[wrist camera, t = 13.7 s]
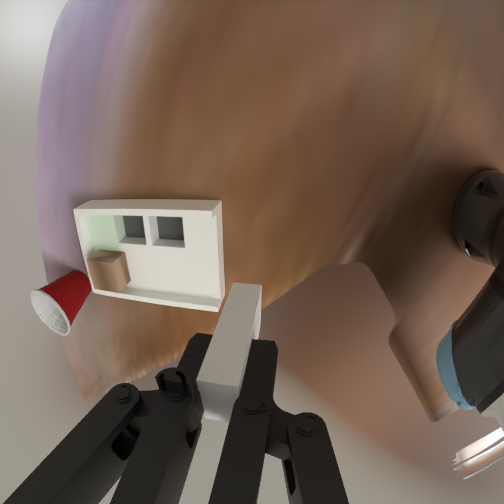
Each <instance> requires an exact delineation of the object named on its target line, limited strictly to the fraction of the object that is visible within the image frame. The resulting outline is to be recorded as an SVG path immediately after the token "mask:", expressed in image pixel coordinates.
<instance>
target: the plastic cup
mask: <svg viewBox="0 0 504 504" xmlns="http://www.w3.org/2000/svg"><path fill="white" fill-rule="evenodd" d="M90 290H91V284H90V281H89V279H88V278H87V276H86V275H85V274H84V273H82V272H80V271H73V272H71V273H69V274H67V275H65V276H63V277H61V278H59V279H57V280H56V281H54V282H52V283H50V284H49V285H47V286H44V287H43V288H41V289H38V290H34V291H32V292H31V297H30V299H31V302H32V306H33V307H34V309H35V311H36V313H37V315H38V316H39V317H40V318H41V320H42V321H43V322H44V323H45V324H46V325H47V326H48V327H49V328H50V329H51V330H53V331H54V332H56V333H58V334H60V335H64V336H65V335H69V332H70V329H71V324H72V322H73V320H74V318H75V316H76V315H77V313H78V311H79V310H80V308H81V307H82V305H83V303H84V301H85V299H86V298H87V296H88V295H89V293H90Z"/></svg>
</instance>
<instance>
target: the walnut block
mask: <svg viewBox="0 0 504 504" xmlns="http://www.w3.org/2000/svg"><path fill="white" fill-rule="evenodd" d="M87 264H88V268H89V271H90V275H91V279H92V282H93V286H94V289H98V290H104V291H109V292H115V293H120V292H121V291H122V290H123V289H124V288H125V287H126V286H127V285H128V283H129V282H130V281H131V278H130V274H129V269H128V264H127V259H126V254H125V252H122V251H111V250H98V251H97V252H96V253H95V254H93V255H92V256H91V257H90V258H88V259H87Z"/></svg>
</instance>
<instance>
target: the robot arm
mask: <svg viewBox="0 0 504 504" xmlns="http://www.w3.org/2000/svg"><path fill="white" fill-rule="evenodd" d="M453 231H454V236H455V239H456V241H457V243H458V245H459V246H460V248H461V249H462V250H463V251H464V252H465V253H466V254H467V255H468V256H469V257H471V258H472V259H474V260H476V261H479V262H482V263H485V264H488V265H491V266H494V267H495V270H494V272H493V273H492V275H491V276H490V278H489V279H488V280H487V282H486V283H485V285H484V286H483V287H482V289H481V290H480V292H479V293H478V294H477V296H476V297H475V299H474V300H473V301H472V303H471V304H470V305H469V306H468V308H467V309H466V310H465V312H464V313H463V314H462V315H461V316H460V318H459V319H458V320H456V321H455V322H454V323H453V324H452V326H451V329H450V330H449V331H448V333H447V334H446V335H445V336H444V338H443V339H442V340H441V342H440V343H439V345H438V348H437V353H436V356H437V357H436V365H437V370H438V374H439V377H440V380H441V382H442V384H443V387H444V389H445V390H446V392H447V394H448V396H449V397H450V398H451V399H452V401H453V402H456V403H457V406H458V407H460V408H462V409H465V410H470V409H473V408H475V407H476V408H477V410H478V411H479V413H480V415H481V416H493V417H496V419H497V420H498V422H499V424H500V426H501V428H502V429H503V431H504V174H503V173H500V172H498V171H495V170H490V169H488V170H482V171H479V172H477V173H476V174H474V175H473V176H472V177H470V178H469V179H468V180H467V182H466V183H465V184H464V186H463V187H462V189H461V190H460V192H459V194H458V197H457V199H456V202H455V206H454V211H453ZM261 293H262V285H256V284H245V283H233V284H232V287H231V289H230V292H229V295H228V297H227V300H226V302H225V305H224V308H223V310H222V313H221V316H220V318H219V321H218V324H217V326H216V329H215V331H214V334H213V335H210V334H202V333H197V334H195V335H194V336H193V337H192V338H191V339H190V340H189V342H188V344H187V347H186V349H185V351H184V353H183V356H182V357H181V360H180V362H179V364H178V366H177V368H167V369H164V370H162V371H160V372H159V373H158V374H157V375H156V377H155V378H156V381H157V384H158V386H159V389H158V390H152V391H138V389H137V388H136V387H135V386H134V385H132V384H129V383H121V384H118V385H116V386H114V387H113V388H112V389H111V390H110V391H109V392H108V393H107V394H106V395H105V396H104V397H103V398H102V399H101V400H100V401H99V402H98V404H96V405H95V407H94V408H93V409H92V410H91V411H90V412H89V413H88V414H87V415H86V416H85V417H84V418H83V419H82V420H81V421H80V422H79V423H78V424H77V426H75V427H74V429H73V430H72V431H71V432H70V433H69V434H68V435H67V436H66V437H65V438H64V439H63V440H62V441H61V442H60V443H59V445H57V447H56V448H55V449H54V450H53V451H52V452H51V453H50V454H49V455H48V456H47V457H46V458H45V459H44V460H43V461H42V462H41V463H40V465H39V466H38V467H37V468H36V469H35V470H34V471H33V472H32V473H31V474H30V475H29V476H28V477H27V478H26V480H25V481H24V482H23V483H22V484H21V485H20V486H19V487H18V488H17V489H16V490H15V491H14V492H13V493H12V494H11V496H10V497H9V498H8V499H7V500H6V501H5V502H4V503H3V504H98V503H99V502H100V501H101V500H102V499H103V497H104V496H105V495H106V494H107V492H108V491H109V490H110V489H111V488H112V486H113V485H114V484H115V483H116V481H117V480H118V479H119V478H120V476H121V475H122V476H121V478H120V481H119V483H118V486H117V488H116V490H115V493H114V495H113V497H112V500H111V502H110V504H178V503H179V500H180V497H181V494H182V490H183V487H184V484H185V481H186V477H187V474H188V471H189V468H190V464H191V461H192V458H193V455H194V451H195V449H196V445H197V442H198V439H199V436H200V433H201V428H202V427H201V426H202V424H201V419H202V416H203V413H204V417H205V418H207V419H212V420H218V421H224V422H229V426H228V430H227V434H226V438H225V442H224V445H223V449H222V453H221V457H220V461H219V465H218V469H217V473H216V477H215V480H214V484H213V488H212V492H211V495H210V499H209V503H208V504H257V499H258V493H259V487H260V482H261V475H262V469H263V463H264V457H265V453H267V454H269V455H272V456H274V457H277V458H279V459H281V460H282V465H283V471H284V477H285V482H286V488H287V493H288V498H289V504H349V503H348V499H347V495H346V492H345V488H344V485H343V482H342V478H341V474H340V471H339V468H338V464H337V461H336V458H335V454H334V450H333V447H332V444H331V440H330V437H329V434H328V431H327V427H326V424H325V422H324V421H323V419H322V418H321V417H319V416H318V415H316V414H313V413H304V412H303V413H300V414H297V415H293V414H291V413H288V412H285V411H283V410H281V409H280V408H279V407H278V406H277V405H276V404H275V402H274V400H273V392H274V383H275V376H276V366H277V356H278V348H277V346H276V344H275V341H268V340H258V335H259V330H260V324H261V323H260V322H261Z"/></svg>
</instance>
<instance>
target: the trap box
mask: <svg viewBox="0 0 504 504" xmlns="http://www.w3.org/2000/svg"><path fill="white" fill-rule="evenodd" d="M73 211H74V216H75V221H76V226H77V231H78V236H79V240H80V245H81V249H82V253H83V257H84V261H85V265H86V269H87V272H88V276H89V279H90V283H91V286H92V290H93V293H97V294H102V295H107V296H113V297H119V298H124V299H130V300H136V301H142V302H148V303H155V304H162V305H168V306H175V307H183V308H190V309H198V310H206V311H214V312H218V311H219V308H220V306H221V303H222V301H223V298H224V296H225V281H224V259H223V232H222V200H191V199H108V200H90V201H88V202H86V203H84V204H82V205H80V206H78V207H76V208H74V209H73ZM98 250H111V251H122V252H125V254H126V259H127V264H128V269H129V274H130V278H131V281H130V282H129V283H128V285H127V286H126V287H125V288H124V289H123V290H122V291H121V292H120V293H115V292H109V291H104V290H98V289H94V286H93V282H92V279H91V275H90V271H89V268H88V264H87V259H88V258H90V257H91V256H92V255H93V254H95V253H96V252H97V251H98Z"/></svg>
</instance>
